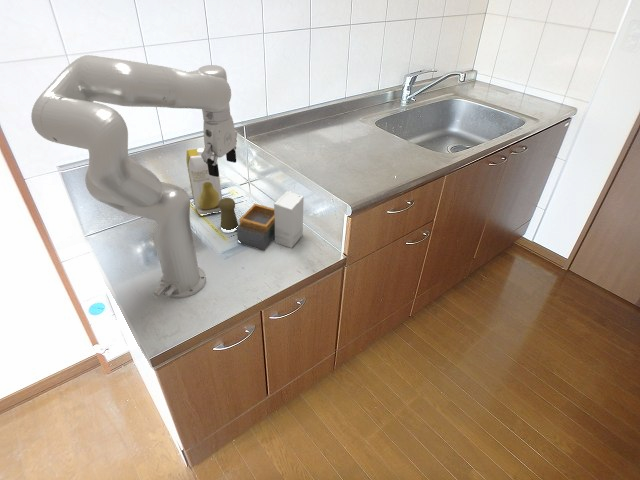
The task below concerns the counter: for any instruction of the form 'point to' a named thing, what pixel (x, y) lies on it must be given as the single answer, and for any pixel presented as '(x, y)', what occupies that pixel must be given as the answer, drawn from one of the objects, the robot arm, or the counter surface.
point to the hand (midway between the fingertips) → (223, 168)
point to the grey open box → (257, 227)
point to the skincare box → (288, 219)
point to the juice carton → (203, 183)
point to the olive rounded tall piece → (228, 214)
